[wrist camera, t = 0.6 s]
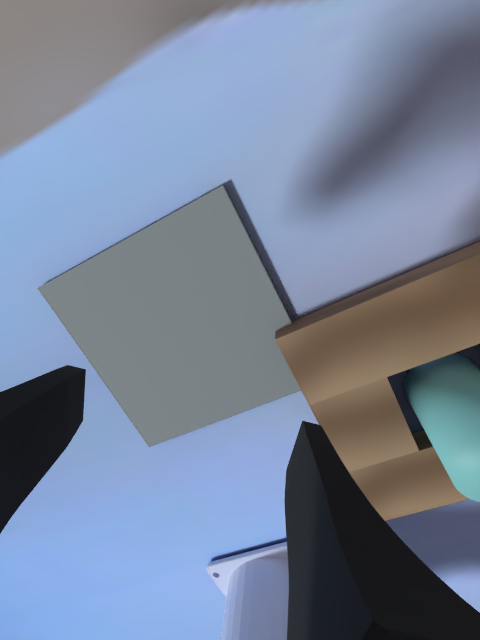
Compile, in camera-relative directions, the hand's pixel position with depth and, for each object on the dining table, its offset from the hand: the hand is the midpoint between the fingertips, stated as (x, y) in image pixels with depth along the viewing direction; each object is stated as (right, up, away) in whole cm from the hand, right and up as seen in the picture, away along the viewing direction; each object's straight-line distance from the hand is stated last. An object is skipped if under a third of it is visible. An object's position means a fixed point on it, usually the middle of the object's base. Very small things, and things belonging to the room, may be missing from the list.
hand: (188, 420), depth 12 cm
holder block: (+13, 0, +9) cm, 16 cm away
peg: (+13, 0, +9) cm, 16 cm away
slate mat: (-2, +3, +10) cm, 10 cm away
